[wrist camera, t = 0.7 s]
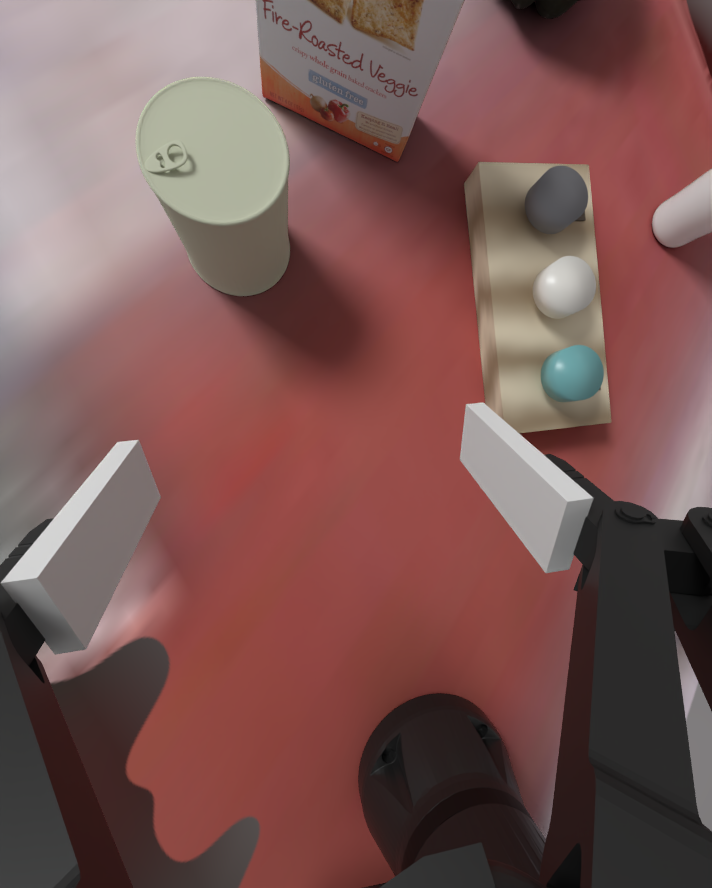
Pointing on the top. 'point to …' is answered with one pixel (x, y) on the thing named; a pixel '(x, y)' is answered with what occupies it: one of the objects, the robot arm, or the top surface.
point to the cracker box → (354, 62)
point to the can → (220, 180)
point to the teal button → (572, 374)
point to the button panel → (527, 298)
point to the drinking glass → (685, 214)
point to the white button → (564, 287)
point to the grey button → (556, 200)
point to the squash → (546, 6)
